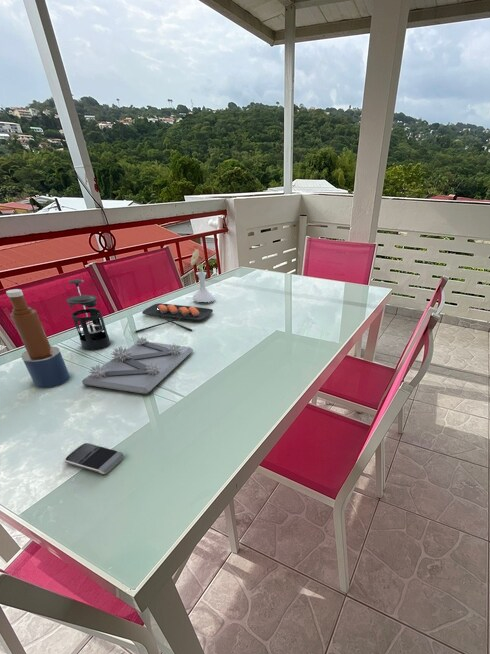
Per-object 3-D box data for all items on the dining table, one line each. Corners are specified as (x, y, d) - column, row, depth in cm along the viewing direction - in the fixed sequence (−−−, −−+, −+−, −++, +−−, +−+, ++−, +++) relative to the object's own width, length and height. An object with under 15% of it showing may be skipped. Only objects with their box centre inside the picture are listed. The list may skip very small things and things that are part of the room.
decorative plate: (148, 397, 94) (143, 375, 90) (81, 387, 97) (72, 366, 93) (194, 352, 119) (192, 333, 115) (140, 345, 122) (135, 327, 118)
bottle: (24, 354, 93) (-5, 291, 84) (44, 347, 98) (19, 286, 88) (36, 359, 91) (7, 295, 82) (56, 351, 96) (31, 290, 86)
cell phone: (86, 446, 77) (84, 441, 76) (126, 457, 74) (124, 452, 74) (63, 464, 72) (61, 459, 71) (105, 476, 70) (103, 472, 69)
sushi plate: (215, 313, 153) (214, 304, 151) (186, 338, 128) (184, 329, 126) (157, 306, 156) (155, 298, 154) (117, 330, 132) (115, 321, 129)
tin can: (27, 382, 98) (13, 355, 93) (58, 369, 105) (47, 343, 100) (46, 391, 95) (33, 363, 89) (77, 377, 101) (66, 350, 96)
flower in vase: (194, 297, 170) (187, 245, 156) (217, 298, 171) (212, 245, 157) (190, 306, 159) (182, 250, 145) (214, 306, 160) (209, 251, 146)
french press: (105, 351, 117) (84, 284, 104) (76, 351, 115) (52, 284, 102) (115, 337, 126) (98, 275, 113) (89, 337, 125) (68, 275, 112)
